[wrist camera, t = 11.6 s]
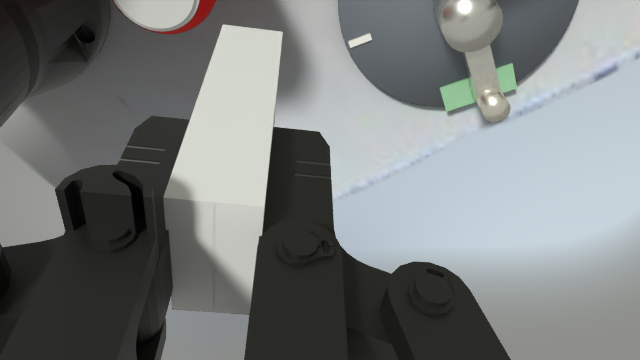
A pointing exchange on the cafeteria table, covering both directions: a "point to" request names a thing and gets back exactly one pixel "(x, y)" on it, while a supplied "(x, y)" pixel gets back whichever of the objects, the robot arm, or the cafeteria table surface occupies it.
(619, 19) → the cafeteria table surface
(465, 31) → the pointer
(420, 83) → the dial plate
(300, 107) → the cafeteria table surface
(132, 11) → the beverage can
